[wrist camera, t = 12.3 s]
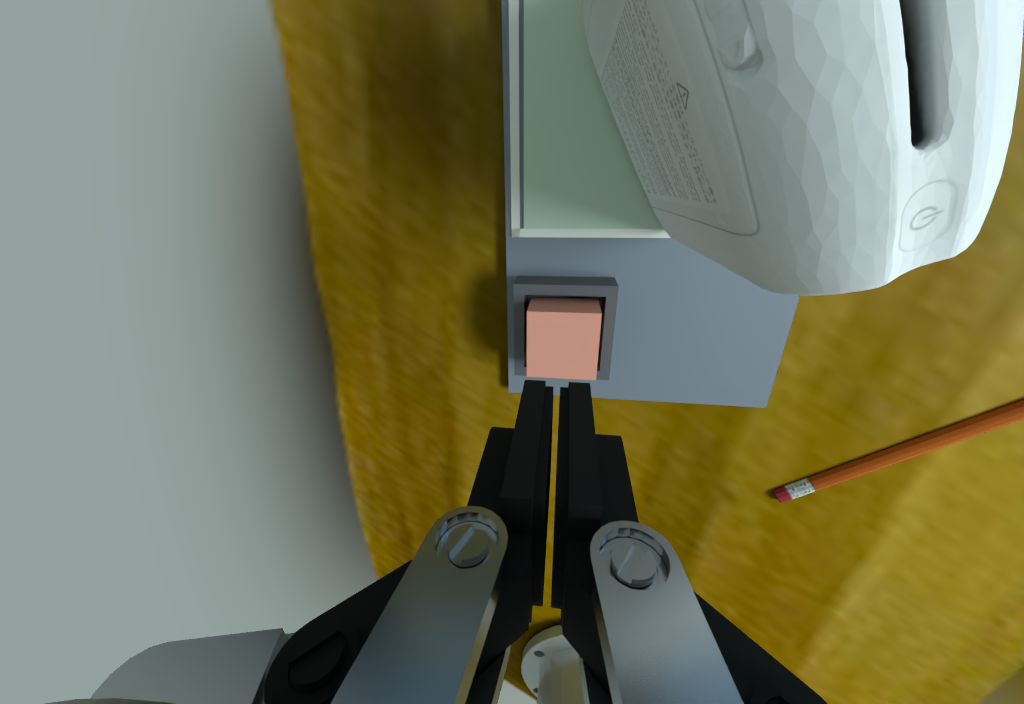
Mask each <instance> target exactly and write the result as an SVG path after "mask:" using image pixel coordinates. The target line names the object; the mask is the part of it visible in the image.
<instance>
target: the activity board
mask: <svg viewBox="0 0 1024 704" xmlns="http://www.w3.org/2000/svg"><path fill="white" fill-rule="evenodd" d="M501 5H502V59H503V113H504V166H505V220H506V274H507V328H508V381H509V393H522V391H523V386H524V381H525V380H541V381H546V386H551V387H554V389H553V395H559V396H560V387H568V384H569V382H579V383H590V387H591V397H592V398H609V399H626V400H643V401H660V402H677V403H694V404H711V405H728V406H745V407H762V408H766V406H767V403H768V399H769V396H770V393H771V389H772V386H773V383H774V380H775V376H776V373H777V370H778V366H779V363H780V360H781V356H782V353H783V350H784V347H785V343H786V340H787V337H788V333H789V330H790V327H791V323H792V320H793V317H794V314H795V310H796V307H797V304H798V300H799V297H800V295H788V294H780V293H773V292H770V291H768V290H765V289H762V288H760V287H759V286H757V285H755V284H753V283H752V282H750V281H749V280H747V279H745V278H743V277H741V276H739V275H738V274H736V273H734V272H732V271H730V270H728V269H727V268H725V267H723V266H721V265H720V264H718V263H716V262H714V261H713V260H711V259H709V258H707V257H705V256H703V255H701V254H700V253H698V252H696V251H694V250H693V249H691V248H689V247H687V246H685V245H683V244H681V243H679V242H678V241H676V240H674V239H672V238H671V237H670V236H669V235H668V234H667V232H666V231H665V230H664V228H663V227H662V225H661V224H660V222H659V220H658V219H657V217H656V215H655V213H654V211H653V209H652V207H651V204H650V202H649V200H648V198H647V196H646V193H645V191H644V189H643V187H642V184H641V182H640V180H639V177H638V175H637V173H636V171H635V168H634V166H633V163H632V160H631V158H630V156H629V153H628V151H627V148H626V146H625V143H624V141H623V139H622V136H621V134H620V131H619V129H618V126H617V124H616V121H615V119H614V116H613V113H612V111H611V108H610V106H609V103H608V100H607V98H606V95H605V93H604V91H603V88H602V84H601V82H600V79H599V76H598V74H597V71H596V68H595V65H594V62H593V59H592V57H591V54H590V50H589V46H588V42H587V38H586V33H585V29H584V23H583V16H582V7H583V0H501ZM531 298H565V299H598V300H599V304H600V308H601V312H602V318H601V330H600V341H599V353H598V364H597V376H596V380H580V379H561V378H543V377H527V309H528V306H529V303H530V301H531Z"/></svg>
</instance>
